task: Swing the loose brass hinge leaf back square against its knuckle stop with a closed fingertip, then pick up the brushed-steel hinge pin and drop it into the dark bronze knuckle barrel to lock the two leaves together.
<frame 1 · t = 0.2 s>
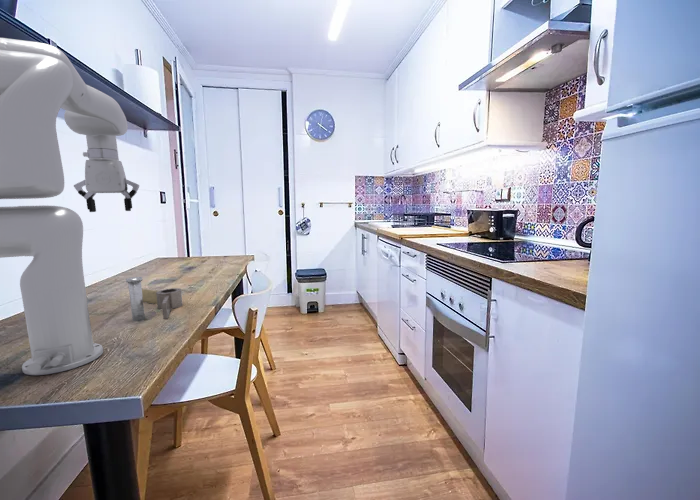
hand: (110, 211, 106), 31 cm above the table, fingers open, 9 cm apart
hinge leaf B: (151, 296, 109), point 2 cm above the table, hinge at -50.0°
hinge leaf A: (170, 306, 105), on the table
pin: (138, 319, 93), on the table
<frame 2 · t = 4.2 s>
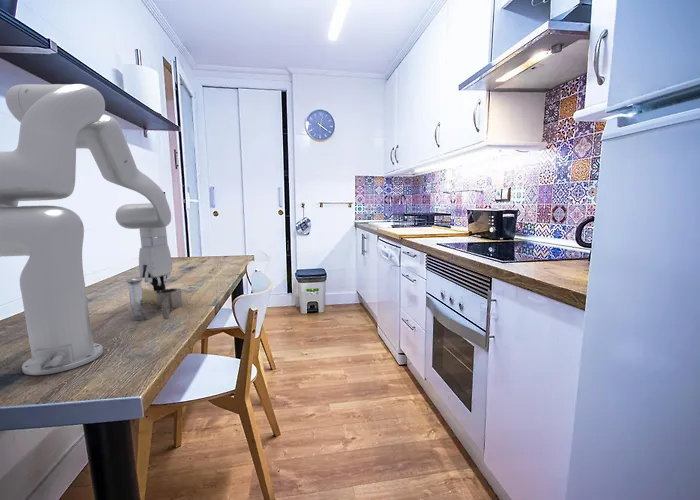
hand: (160, 296, 111), 2 cm above the table, fingers closed
hinge leaf B: (151, 296, 109), point 2 cm above the table, hinge at -49.5°, touching gripper
everything else where it was.
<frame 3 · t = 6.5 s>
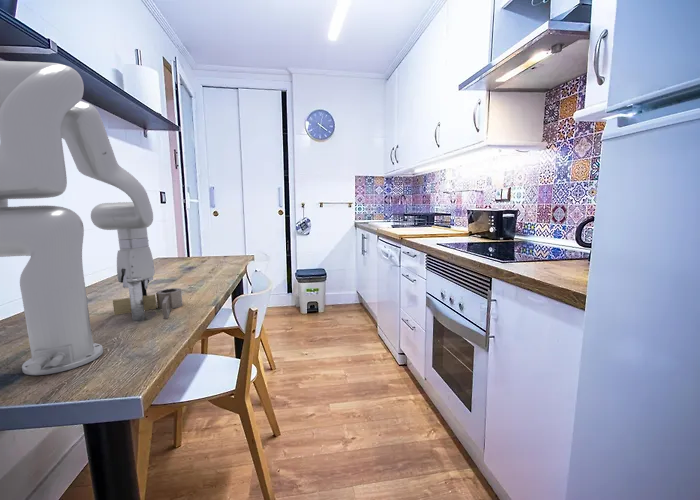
hand: (141, 302, 103), 2 cm above the table, fingers closed
hinge leaf B: (135, 304, 100), point 2 cm above the table, hinge at 6.7°, touching gripper
everything else where it was.
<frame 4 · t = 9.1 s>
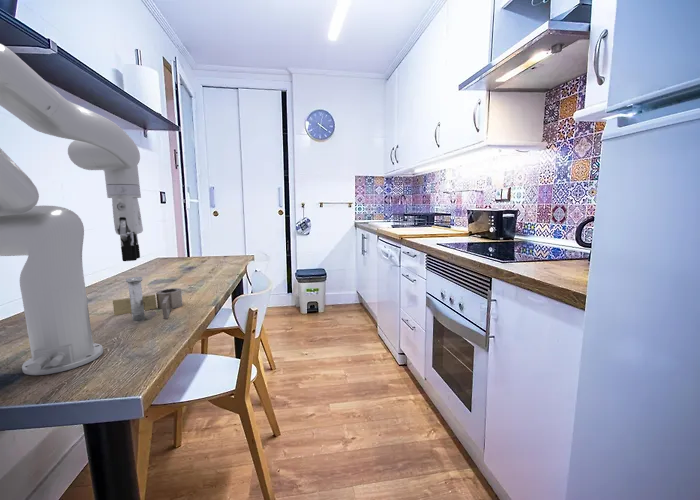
hand: (131, 258, 91), 17 cm above the table, fingers open, 3 cm apart
hinge leaf B: (135, 304, 100), point 2 cm above the table, hinge at 8.3°
everything else where it was.
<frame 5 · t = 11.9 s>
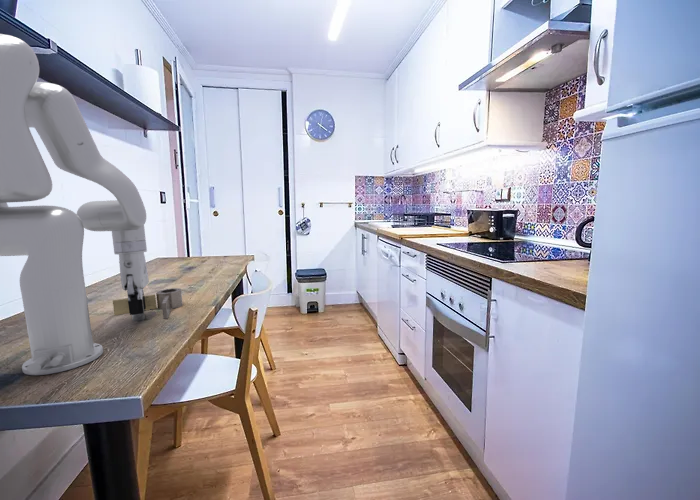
hand: (137, 311, 93), 2 cm above the table, fingers closed on pin, 3 cm apart
pin: (138, 319, 93), on the table, touching gripper
everything else where it was.
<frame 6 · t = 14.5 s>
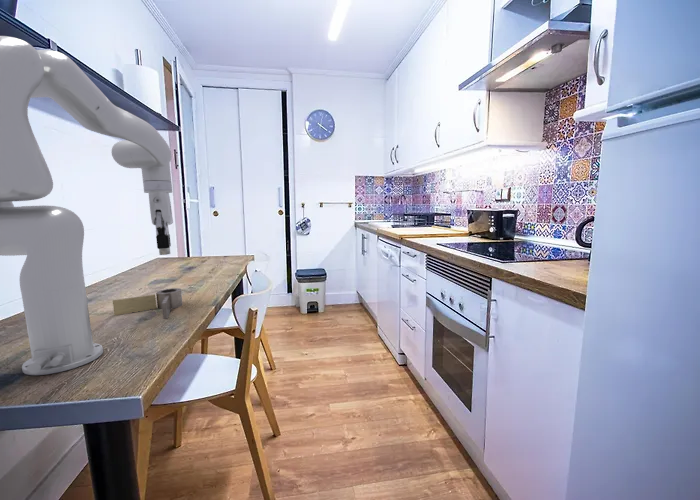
hand: (164, 247, 103), 19 cm above the table, fingers closed on pin, 3 cm apart
pin: (165, 254, 103), point 17 cm above the table, touching gripper
everything else where it was.
when the fingers open (6 cm above the table, at t = 17.1 s): pin drops 3 cm, resting in hinge leaf A.
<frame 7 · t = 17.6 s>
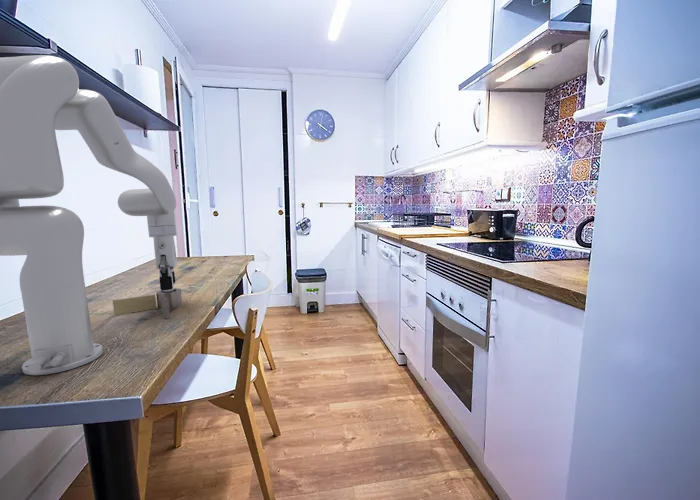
hand: (168, 286, 104), 6 cm above the table, fingers open, 8 cm apart
pin: (170, 306, 105), resting in hinge leaf A
everything else where it was.
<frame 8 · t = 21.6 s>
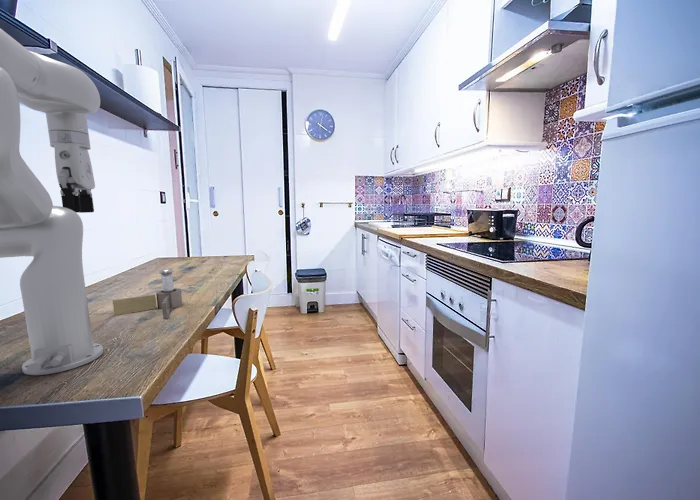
hand: (79, 212, 82), 30 cm above the table, fingers open, 9 cm apart
nothing on the table moved.
at the end: pin 0.0 cm off-centre on the hinge leaf A, point 0.0 cm above the hinge leaf A's base; pin tilted 1°; hinge leaf B at +8° (first picture: -50°) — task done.
